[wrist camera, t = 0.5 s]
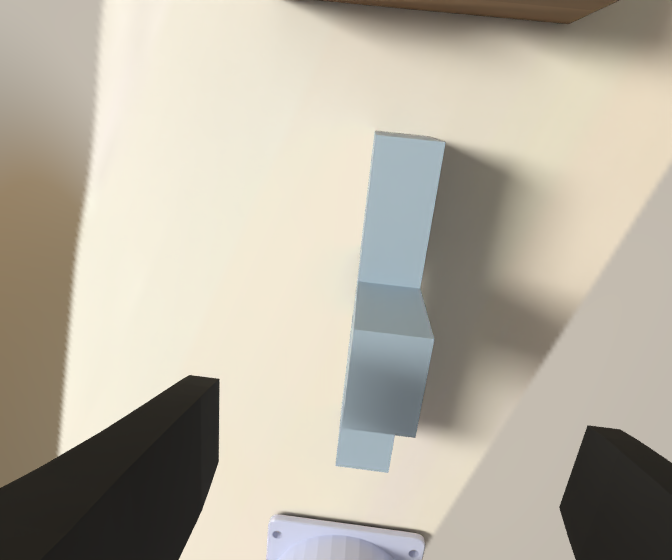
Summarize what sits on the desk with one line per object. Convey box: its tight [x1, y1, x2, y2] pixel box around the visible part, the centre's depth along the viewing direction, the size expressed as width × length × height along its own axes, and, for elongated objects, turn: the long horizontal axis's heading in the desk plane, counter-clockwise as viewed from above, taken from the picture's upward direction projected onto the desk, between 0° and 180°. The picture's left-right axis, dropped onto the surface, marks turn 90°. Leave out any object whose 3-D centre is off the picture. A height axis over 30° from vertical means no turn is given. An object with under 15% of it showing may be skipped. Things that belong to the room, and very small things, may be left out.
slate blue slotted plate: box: [336, 131, 446, 473], centre depth 15 cm, size 12×2×8 cm, turn 174°
